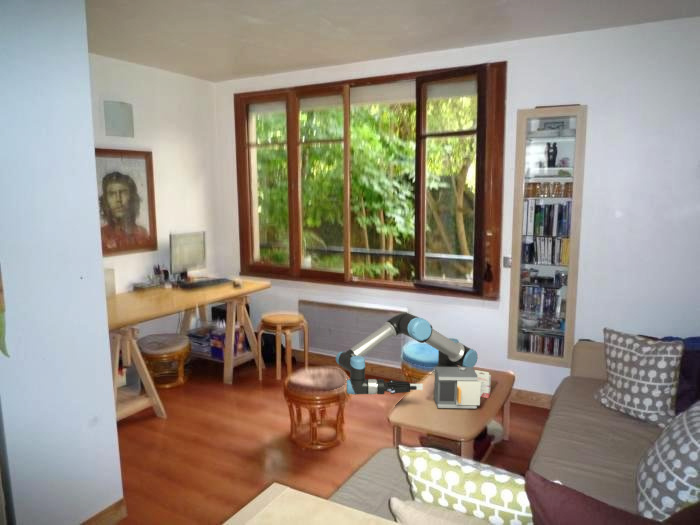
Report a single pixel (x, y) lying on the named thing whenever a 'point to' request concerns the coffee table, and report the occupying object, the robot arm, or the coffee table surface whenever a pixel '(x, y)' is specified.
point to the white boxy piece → (468, 392)
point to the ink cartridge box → (484, 383)
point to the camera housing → (451, 385)
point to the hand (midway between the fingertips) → (422, 386)
